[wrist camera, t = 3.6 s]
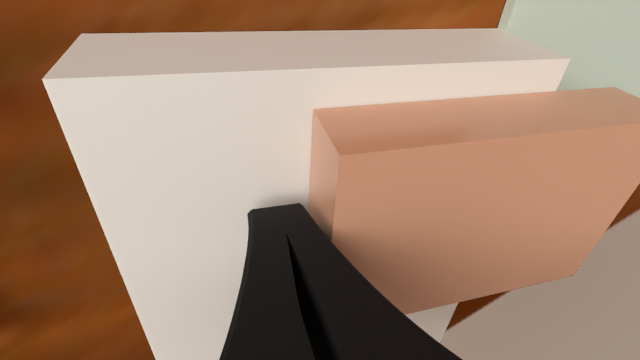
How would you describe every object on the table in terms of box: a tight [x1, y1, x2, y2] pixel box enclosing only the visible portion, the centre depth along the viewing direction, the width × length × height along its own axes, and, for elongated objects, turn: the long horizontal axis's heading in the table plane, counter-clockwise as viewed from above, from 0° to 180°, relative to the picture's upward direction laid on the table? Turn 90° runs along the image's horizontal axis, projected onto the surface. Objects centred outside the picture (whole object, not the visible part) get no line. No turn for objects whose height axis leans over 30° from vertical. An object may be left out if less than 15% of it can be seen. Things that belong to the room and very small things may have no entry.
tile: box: [308, 87, 640, 315], centre depth 10 cm, size 6×9×2 cm, turn 87°
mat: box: [498, 0, 640, 98], centre depth 14 cm, size 12×10×1 cm
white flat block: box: [42, 28, 571, 360], centre depth 13 cm, size 14×12×3 cm
